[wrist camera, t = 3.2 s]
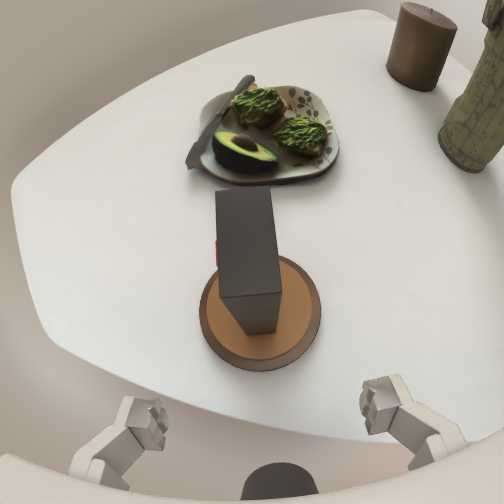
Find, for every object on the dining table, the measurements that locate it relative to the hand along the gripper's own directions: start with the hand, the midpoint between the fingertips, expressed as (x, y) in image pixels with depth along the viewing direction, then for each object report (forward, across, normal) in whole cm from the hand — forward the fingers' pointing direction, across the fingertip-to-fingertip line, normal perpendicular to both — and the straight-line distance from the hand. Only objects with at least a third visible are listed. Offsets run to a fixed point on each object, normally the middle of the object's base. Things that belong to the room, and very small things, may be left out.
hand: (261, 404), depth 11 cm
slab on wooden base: (+15, 0, -5) cm, 16 cm away
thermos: (+29, +32, +7) cm, 43 cm away
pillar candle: (+42, +30, +19) cm, 55 cm away
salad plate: (+31, +2, +8) cm, 32 cm away
